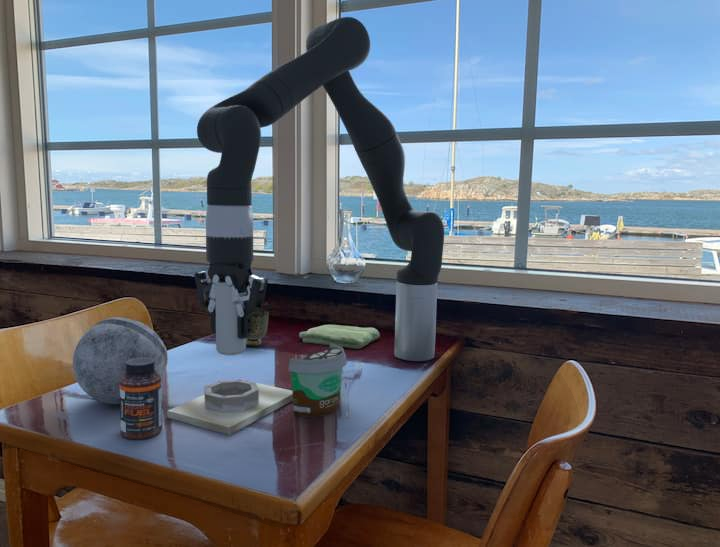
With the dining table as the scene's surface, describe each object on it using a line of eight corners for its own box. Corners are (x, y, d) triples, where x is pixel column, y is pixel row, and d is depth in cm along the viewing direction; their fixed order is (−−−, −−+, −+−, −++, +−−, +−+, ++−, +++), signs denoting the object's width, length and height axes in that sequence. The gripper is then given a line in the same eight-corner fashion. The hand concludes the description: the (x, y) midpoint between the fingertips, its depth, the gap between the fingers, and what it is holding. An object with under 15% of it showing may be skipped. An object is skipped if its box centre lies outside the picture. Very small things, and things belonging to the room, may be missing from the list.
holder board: (240, 385, 106) (240, 366, 106) (296, 398, 100) (296, 378, 100) (167, 417, 90) (167, 395, 90) (229, 435, 84) (229, 411, 84)
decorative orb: (182, 391, 102) (180, 311, 100) (135, 422, 88) (132, 330, 86) (110, 384, 105) (107, 306, 103) (54, 413, 91) (49, 323, 89)
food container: (318, 426, 88) (319, 365, 87) (288, 417, 92) (288, 358, 90) (359, 402, 99) (360, 348, 97) (331, 395, 102) (331, 342, 100)
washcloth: (320, 331, 151) (321, 320, 150) (381, 339, 144) (381, 327, 143) (296, 343, 139) (296, 330, 138) (360, 352, 132) (361, 339, 131)
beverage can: (238, 357, 90) (237, 284, 89) (211, 354, 91) (209, 282, 90) (250, 349, 95) (249, 279, 93) (223, 346, 96) (223, 278, 94)
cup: (275, 344, 136) (275, 312, 135) (254, 350, 130) (254, 317, 128) (252, 339, 140) (252, 308, 139) (231, 345, 133) (230, 313, 132)
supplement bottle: (120, 443, 81) (117, 368, 79) (120, 427, 86) (117, 357, 85) (164, 437, 83) (162, 364, 82) (161, 422, 89) (159, 353, 87)
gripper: (279, 234, 90) (279, 336, 93) (212, 230, 97) (213, 325, 99) (249, 237, 84) (250, 347, 86) (180, 232, 90) (182, 334, 93)
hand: (230, 335), depth 93 cm, fingers closed on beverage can, 5 cm apart
